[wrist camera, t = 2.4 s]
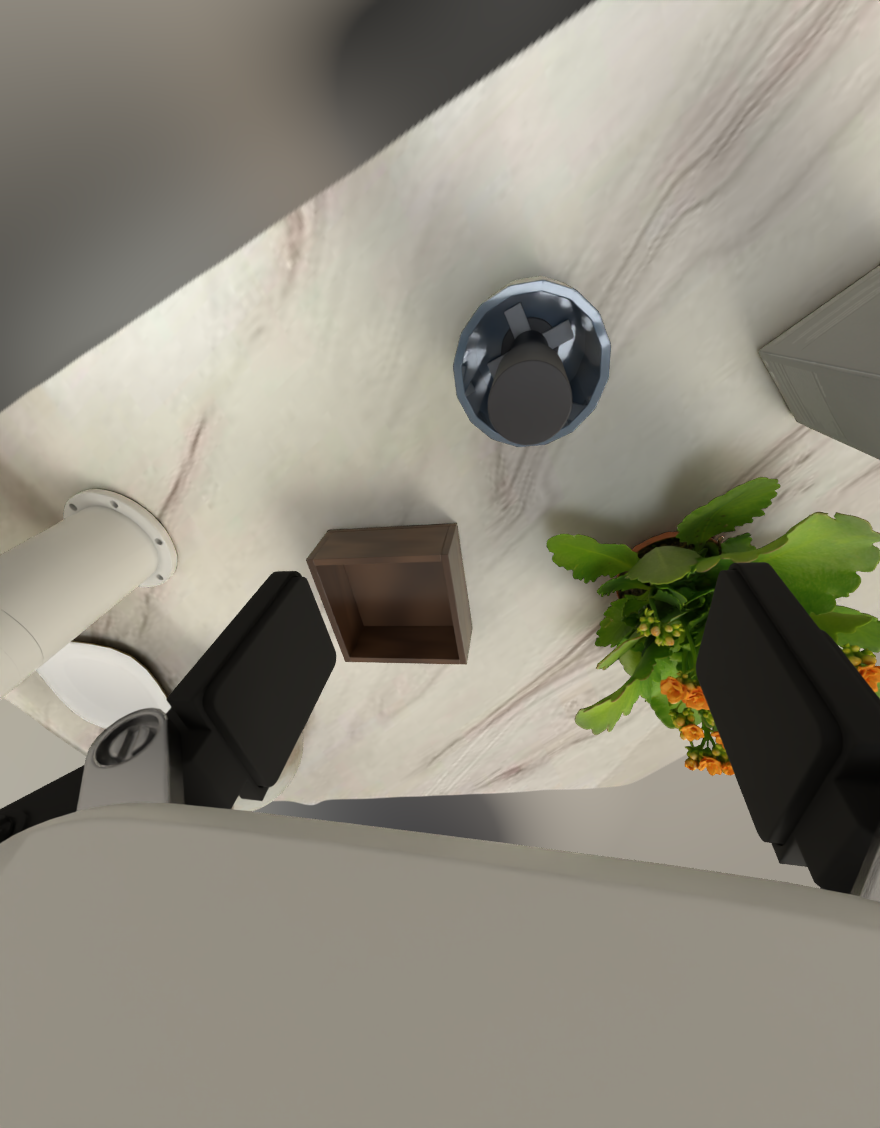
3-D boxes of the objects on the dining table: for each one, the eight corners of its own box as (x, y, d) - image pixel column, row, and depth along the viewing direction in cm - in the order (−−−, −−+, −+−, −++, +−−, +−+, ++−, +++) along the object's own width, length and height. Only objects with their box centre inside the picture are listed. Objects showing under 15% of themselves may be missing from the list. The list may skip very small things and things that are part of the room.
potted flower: (485, 579, 44) (465, 727, 30) (674, 371, 31) (797, 462, 17) (667, 690, 49) (724, 865, 35) (900, 550, 35) (1146, 740, 21)
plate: (89, 718, 76) (81, 727, 75) (16, 628, 64) (4, 636, 62) (199, 734, 73) (193, 743, 71) (143, 641, 60) (134, 650, 59)
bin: (361, 627, 51) (345, 662, 47) (328, 529, 44) (305, 559, 40) (472, 627, 48) (466, 664, 44) (457, 523, 41) (448, 554, 37)
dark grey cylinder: (507, 406, 33) (495, 489, 21) (473, 329, 31) (436, 372, 19) (584, 368, 31) (620, 437, 19) (554, 281, 28) (573, 294, 16)
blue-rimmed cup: (477, 412, 35) (463, 452, 28) (464, 288, 30) (443, 296, 23) (588, 400, 33) (605, 439, 26) (593, 265, 28) (615, 266, 21)
